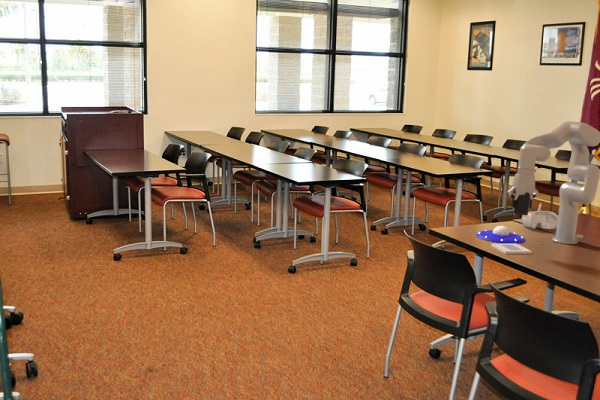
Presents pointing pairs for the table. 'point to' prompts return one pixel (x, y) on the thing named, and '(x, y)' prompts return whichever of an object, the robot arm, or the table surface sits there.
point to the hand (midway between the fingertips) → (521, 207)
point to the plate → (511, 248)
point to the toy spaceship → (500, 236)
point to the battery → (522, 204)
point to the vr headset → (540, 219)
